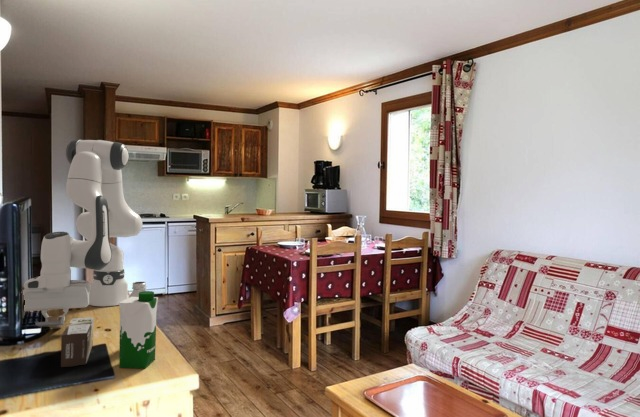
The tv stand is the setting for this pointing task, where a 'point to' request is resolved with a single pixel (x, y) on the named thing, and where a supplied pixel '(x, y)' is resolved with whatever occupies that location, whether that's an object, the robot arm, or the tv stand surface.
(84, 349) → the coffee box
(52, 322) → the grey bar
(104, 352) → the tv stand surface
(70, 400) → the tv stand surface
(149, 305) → the milk carton
